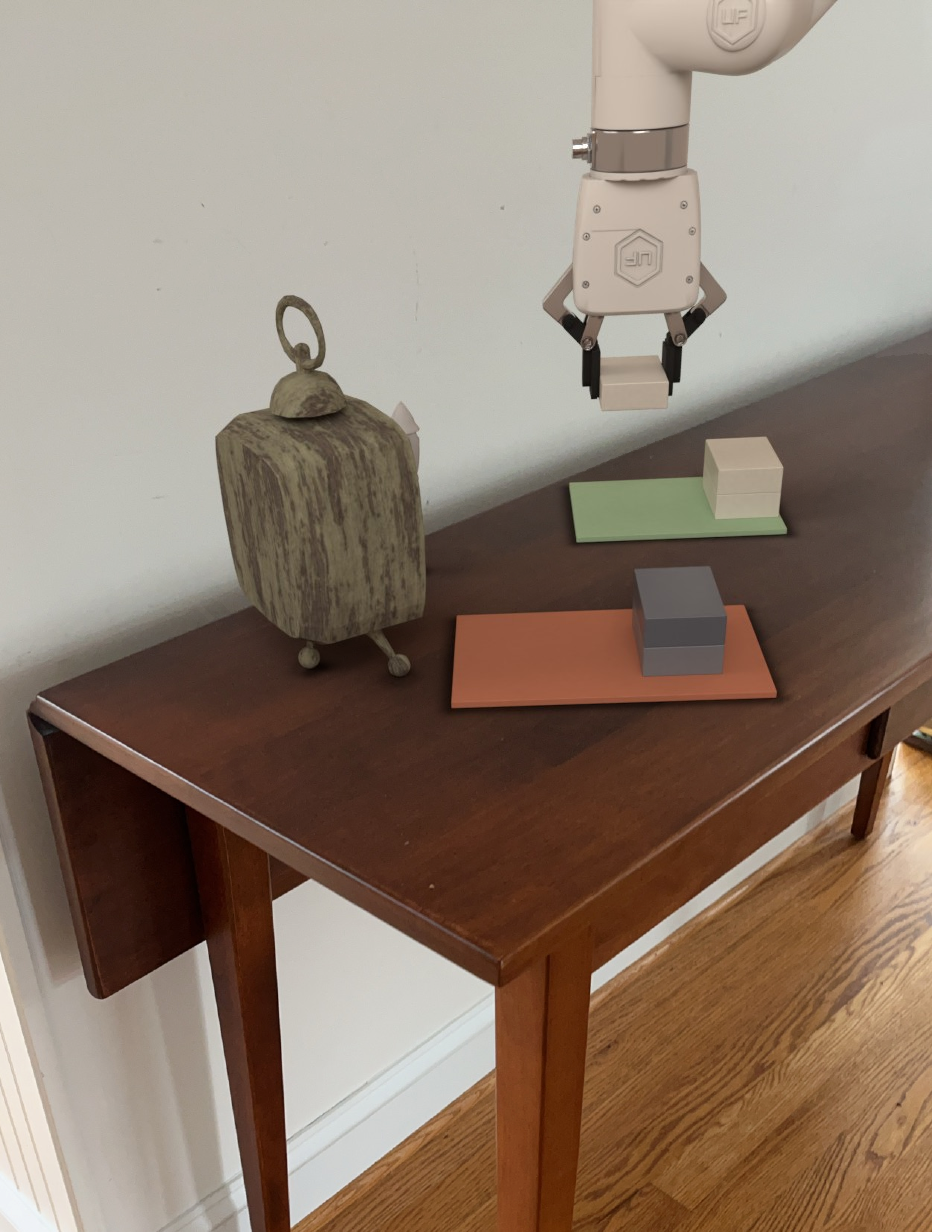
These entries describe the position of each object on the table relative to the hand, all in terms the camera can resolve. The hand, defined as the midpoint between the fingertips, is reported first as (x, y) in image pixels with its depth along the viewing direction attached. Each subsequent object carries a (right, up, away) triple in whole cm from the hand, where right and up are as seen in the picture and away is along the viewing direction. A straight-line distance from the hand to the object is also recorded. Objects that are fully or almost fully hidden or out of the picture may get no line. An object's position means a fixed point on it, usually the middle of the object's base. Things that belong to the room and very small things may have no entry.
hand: (630, 390), depth 107 cm
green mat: (+5, -8, +6) cm, 11 cm away
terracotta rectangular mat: (-4, -26, -17) cm, 31 cm away
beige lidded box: (+11, -8, +5) cm, 14 cm away
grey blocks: (+1, -25, -17) cm, 31 cm away
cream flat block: (0, 0, 0) cm, 0 cm away
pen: (-19, -16, -2) cm, 25 cm away
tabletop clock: (-24, -26, -15) cm, 38 cm away
